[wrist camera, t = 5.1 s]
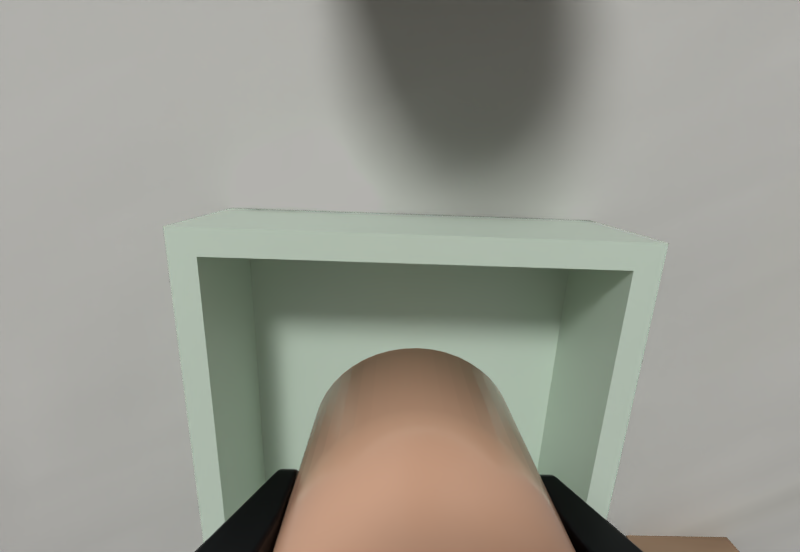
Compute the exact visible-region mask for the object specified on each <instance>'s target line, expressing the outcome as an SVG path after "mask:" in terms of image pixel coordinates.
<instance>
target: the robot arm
mask: <svg viewBox="0 0 800 552" xmlns="http://www.w3.org/2000/svg"><path fill="white" fill-rule="evenodd" d="M297 474H298V470H297V469H279V470H278V471H276V472H275V473H274V474H273V475H272V476H271V477H270V478H269V479H268V480H267V481H266V482H265V483H264V484H263V485H262V486H261V487H260V488H259V489H258V490H257V491H256V492H255V493H254V494H253V495H252V496H251V497H250V498H249V499H248V500H247V501H246V502H245V503H244V504H243V505H242V506H241V507H240V508H239V509H238V510H237V511H236V512H235V513H234V514H233V515H232V516H231V517H230V518H229V519H228V520H226V521H225V522H224V523H223V524H222V525H221V526H220V527H219V528H218V529H217V530H216V531H215V532H214V533H213V534H212V535H211V536H210V537H209V538H208V539H207V540H206V541H205V542H204V543H203V544H202V545H201V546H200V547H199V548H198V549H197V550H196V551H195V552H273V550H274V547H275V543H276V540H277V537H278V534H279V531H280V528H281V525H282V521H283V518H284V515H285V512H286V509H287V506H288V502H289V499H290V496H291V493H292V490H293V487H294V483H295V480H296V477H297ZM540 477H541V479H542V481H543V483H544V485H545V487H546V489H547V492H548V494H549V496H550V498H551V500H552V502H553V504H554V507H555V509H556V511H557V513H558V515H559V517H560V519H561V521H562V524H563V526H564V528H565V530H566V532H567V534H568V536H569V539H570V541H571V543H572V545H573V547H574V549H575V551H576V552H643V551H642V550H641V549H640V548H638V547H637V546H636V545H635V544H634V543H633V542H631V541H630V540H629V539H628V538H627V537H626V536H624V535H623V534H622V533H621V532H620V531H619V530H617V529H616V528H615V527H614V526H613V525H612V524H610V523H609V522H608V521H607V520H606V519H605V518H603V517H602V516H601V515H600V514H599V513H598V512H596V511H595V510H594V509H593V508H592V507H591V506H589V505H588V504H587V503H586V502H585V501H584V500H582V499H581V498H580V497H579V496H578V495H577V494H575V493H574V492H573V491H572V490H571V489H570V488H568V487H567V486H566V485H565V484H564V483H563V482H561V481H560V480H559V479H558V478H557V477H555V476H554V475H548V474H540Z"/></svg>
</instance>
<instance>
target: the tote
mask: <svg viewBox="0 0 800 552" xmlns="http://www.w3.org/2000/svg"><path fill="white" fill-rule="evenodd" d="M163 230H164V238H165V246H166V254H167V262H168V270H169V277H170V285H171V293H172V301H173V309H174V317H175V324H176V332H177V340H178V348H179V356H180V363H181V371H182V379H183V387H184V395H185V403H186V410H187V418H188V426H189V434H190V442H191V450H192V457H193V465H194V473H195V481H196V489H197V497H198V504H199V512H200V520H201V528H202V536H203V543H204V542H205V541H206V540H207V539H208V538H209V537H210V536H211V535H212V534H213V533H214V532H215V531H216V530H217V529H218V528H219V527H220V526H221V525H222V524H223V523H224V522H225V521H226V520H228V519H229V518H230V517H231V516H232V515H233V514H234V513H235V512H236V511H237V510H238V509H239V508H240V507H241V506H242V505H243V504H244V503H245V502H246V501H247V500H248V499H249V498H250V497H251V496H252V495H253V494H254V493H255V492H256V491H257V490H258V489H259V488H260V487H261V486H262V485H263V484H264V483H265V482H266V481H267V480H268V479H269V478H270V477H271V476H272V475H273V474H274V473H275V472H276V471H278V470H279V469H297V470H298V471H299V468H300V464H301V461H302V458H303V455H304V452H305V449H306V446H307V442H308V439H309V436H310V433H311V430H312V427H313V423H314V420H315V417H316V414H317V411H318V409H319V406H320V403H321V401H322V400H323V398H324V396H325V394H326V392H327V391H328V390H329V388H330V387H331V386H332V384H333V383H334V382H335V381H336V380H337V379H338V378H339V377H340V376H341V375H342V374H343V373H345V372H346V371H347V370H349V369H350V368H351V367H352V366H354V365H356V364H358V363H359V362H361V361H363V360H365V359H367V358H369V357H372V356H374V355H377V354H380V353H384V352H387V351H391V350H398V349H406V348H422V349H432V350H437V351H442V352H446V353H449V354H452V355H454V356H457V357H459V358H461V359H463V360H465V361H467V362H469V363H471V364H472V365H474V366H475V367H477V368H478V369H480V370H481V371H482V372H483V373H484V374H486V375H487V376H488V377H489V378H490V379H491V380H492V382H493V383H494V384H495V385H496V386H497V388H498V389H499V391H500V393H501V394H502V396H503V398H504V400H505V402H506V404H507V406H508V408H509V410H510V412H511V415H512V417H513V419H514V421H515V423H516V425H517V427H518V430H519V432H520V434H521V436H522V438H523V440H524V442H525V445H526V447H527V449H528V451H529V453H530V455H531V457H532V460H533V462H534V464H535V466H536V468H537V470H538V472H539V474H548V475H554V476H555V477H557V478H558V479H559V480H560V481H561V482H563V483H564V484H565V485H566V486H567V487H568V488H570V489H571V490H572V491H573V492H574V493H575V494H577V495H578V496H579V497H580V498H581V499H582V500H584V501H585V502H586V503H587V504H588V505H589V506H591V507H592V508H593V509H594V510H595V511H596V512H598V513H599V514H600V515H601V516H602V517H603V518H605V519H606V520H607V516H608V511H609V507H610V502H611V498H612V493H613V489H614V485H615V480H616V476H617V471H618V467H619V462H620V458H621V453H622V449H623V444H624V440H625V435H626V431H627V427H628V422H629V418H630V413H631V409H632V404H633V400H634V395H635V391H636V386H637V382H638V377H639V373H640V369H641V364H642V360H643V355H644V351H645V346H646V342H647V337H648V333H649V328H650V324H651V319H652V315H653V311H654V306H655V302H656V297H657V293H658V288H659V284H660V279H661V275H662V270H663V266H664V261H665V257H666V253H667V248H668V244H669V243H666V242H662V241H659V240H655V239H652V238H648V237H645V236H641V235H638V234H634V233H631V232H628V231H624V230H621V229H617V228H614V227H610V226H607V225H603V224H600V223H596V222H593V221H585V220H556V219H527V218H499V217H470V216H441V215H412V214H383V213H355V212H326V211H297V210H268V209H239V208H230V209H226V210H222V211H219V212H215V213H211V214H207V215H204V216H200V217H196V218H192V219H189V220H185V221H181V222H177V223H174V224H170V225H166V226H163Z"/></svg>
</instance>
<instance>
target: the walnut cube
mask: <svg viewBox="0 0 800 552" xmlns="http://www.w3.org/2000/svg"><path fill="white" fill-rule="evenodd" d="M626 537H627V538H628V539H629V540H630V541H631V542H633V543H634V544H635V545H636V546H637V547H638V548H640V549H641V550H642V551H643V552H739V551H738V550H737V549H736V547H735V546H734V545H733V544H732V543H731V542H730V541H729V540H728V538H727V537H681V536H627V535H626Z"/></svg>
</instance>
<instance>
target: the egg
mask: <svg viewBox="0 0 800 552" xmlns="http://www.w3.org/2000/svg"><path fill="white" fill-rule="evenodd" d="M273 552H576V551H575V549H574V547H573V545H572V543H571V541H570V539H569V536H568V534H567V532H566V530H565V528H564V526H563V524H562V521H561V519H560V517H559V515H558V513H557V511H556V509H555V507H554V504H553V502H552V500H551V498H550V496H549V494H548V492H547V489H546V487H545V485H544V483H543V481H542V479H541V477H540V474H539V472H538V470H537V468H536V466H535V464H534V462H533V460H532V457H531V455H530V453H529V451H528V449H527V447H526V445H525V442H524V440H523V438H522V436H521V434H520V432H519V430H518V427H517V425H516V423H515V421H514V419H513V417H512V415H511V412H510V410H509V408H508V406H507V404H506V402H505V400H504V398H503V396H502V394H501V393H500V391H499V389H498V388H497V386H496V385H495V384H494V383H493V382H492V380H491V379H490V378H489V377H488V376H487V375H486V374H484V373H483V372H482V371H481V370H480V369H478V368H477V367H475V366H474V365H472V364H471V363H469V362H467V361H465V360H463V359H461V358H459V357H457V356H454V355H452V354H449V353H446V352H442V351H437V350H432V349H422V348H406V349H398V350H391V351H387V352H384V353H380V354H377V355H374V356H372V357H369V358H367V359H365V360H363V361H361V362H359V363H358V364H356V365H354V366H352V367H351V368H350V369H349V370H347V371H346V372H345V373H343V374H342V375H341V376H340V377H339V378H338V379H337V380H336V381H335V382H334V383H333V384H332V386H331V387H330V388H329V390H328V391H327V392H326V394H325V396H324V398H323V400H322V401H321V403H320V406H319V409H318V411H317V414H316V417H315V420H314V423H313V427H312V430H311V433H310V436H309V439H308V442H307V446H306V449H305V452H304V455H303V458H302V461H301V464H300V468H299V471H298V474H297V477H296V480H295V483H294V487H293V490H292V493H291V496H290V499H289V502H288V506H287V509H286V512H285V515H284V518H283V521H282V525H281V528H280V531H279V534H278V537H277V540H276V543H275V547H274V550H273Z"/></svg>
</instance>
